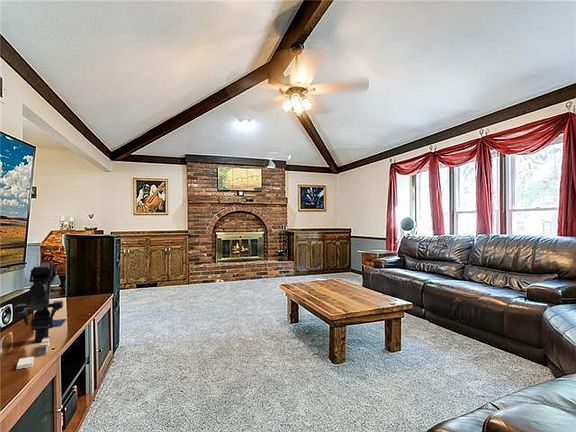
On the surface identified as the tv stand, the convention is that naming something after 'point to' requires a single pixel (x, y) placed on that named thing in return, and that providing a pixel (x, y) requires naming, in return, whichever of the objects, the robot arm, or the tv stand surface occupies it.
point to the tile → (25, 362)
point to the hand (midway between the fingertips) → (38, 324)
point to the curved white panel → (43, 346)
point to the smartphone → (59, 322)
